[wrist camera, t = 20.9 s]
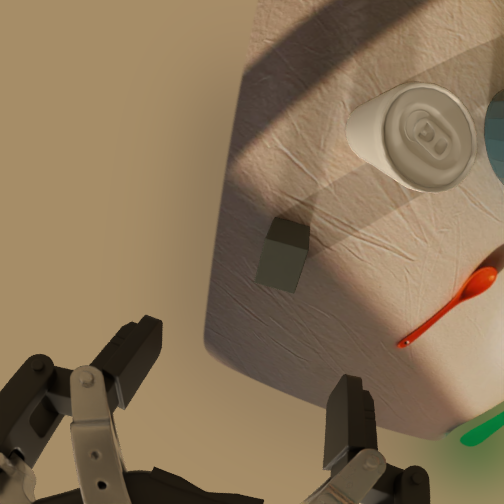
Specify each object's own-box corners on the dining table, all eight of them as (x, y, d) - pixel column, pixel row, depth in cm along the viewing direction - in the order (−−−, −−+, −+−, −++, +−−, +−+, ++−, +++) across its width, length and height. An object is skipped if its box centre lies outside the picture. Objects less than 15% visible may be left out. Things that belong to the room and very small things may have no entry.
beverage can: (365, 90, 19) (415, 55, 8) (414, 128, 19) (496, 135, 8) (332, 138, 21) (352, 146, 10) (382, 175, 21) (440, 219, 10)
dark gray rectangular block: (265, 255, 26) (254, 283, 22) (274, 216, 24) (265, 237, 20) (298, 264, 26) (294, 294, 21) (310, 226, 24) (308, 250, 20)
